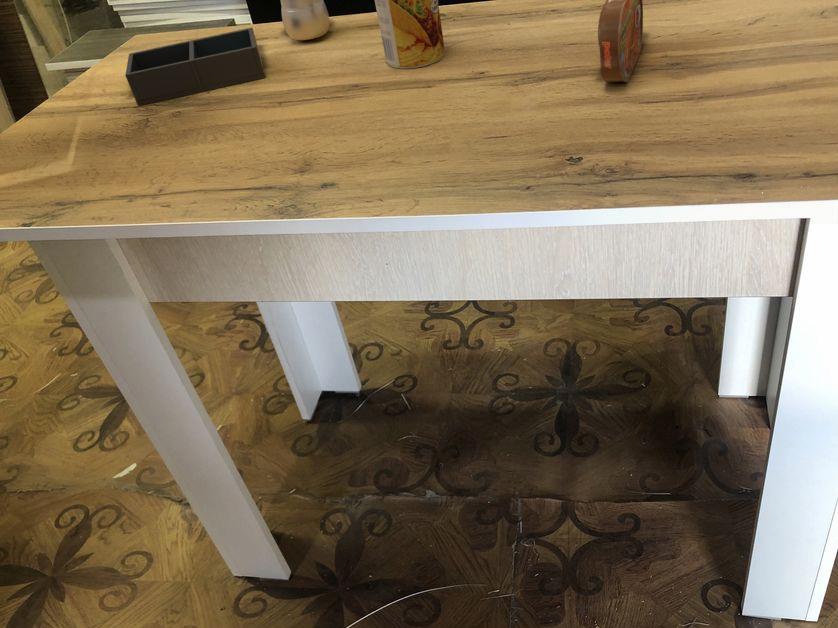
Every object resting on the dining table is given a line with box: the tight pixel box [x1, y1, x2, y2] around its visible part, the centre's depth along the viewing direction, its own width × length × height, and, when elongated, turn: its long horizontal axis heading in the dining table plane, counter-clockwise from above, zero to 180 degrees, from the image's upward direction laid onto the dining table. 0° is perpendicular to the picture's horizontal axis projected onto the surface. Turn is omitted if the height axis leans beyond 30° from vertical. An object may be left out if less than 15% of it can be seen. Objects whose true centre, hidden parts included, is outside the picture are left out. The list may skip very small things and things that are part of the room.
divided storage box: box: [125, 27, 266, 107], centre depth 104 cm, size 17×9×4 cm, turn 106°
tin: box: [597, 0, 644, 83], centre depth 88 cm, size 15×3×8 cm, turn 161°
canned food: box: [374, 0, 446, 70], centre depth 98 cm, size 8×8×12 cm
